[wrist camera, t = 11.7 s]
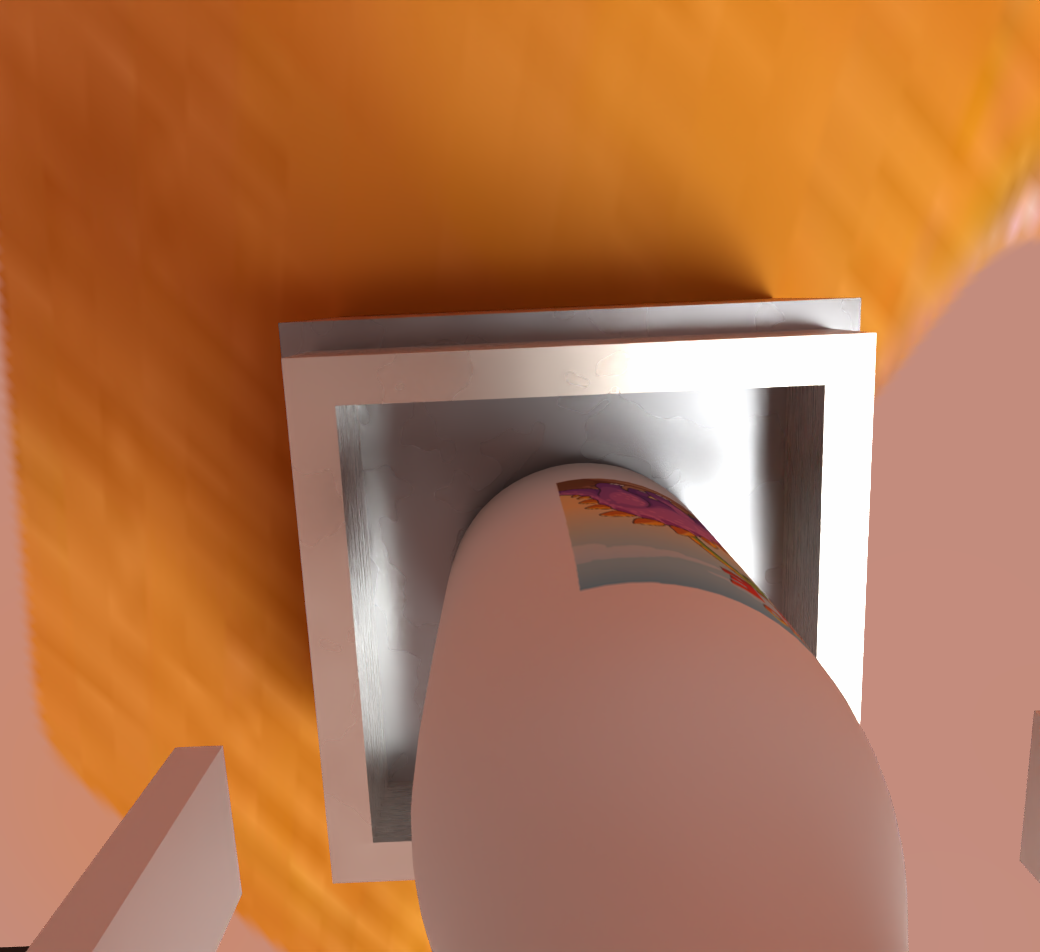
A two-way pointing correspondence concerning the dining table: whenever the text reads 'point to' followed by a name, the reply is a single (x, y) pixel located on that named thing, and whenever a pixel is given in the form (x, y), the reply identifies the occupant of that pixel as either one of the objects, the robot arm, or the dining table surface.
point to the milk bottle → (637, 745)
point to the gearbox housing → (543, 444)
